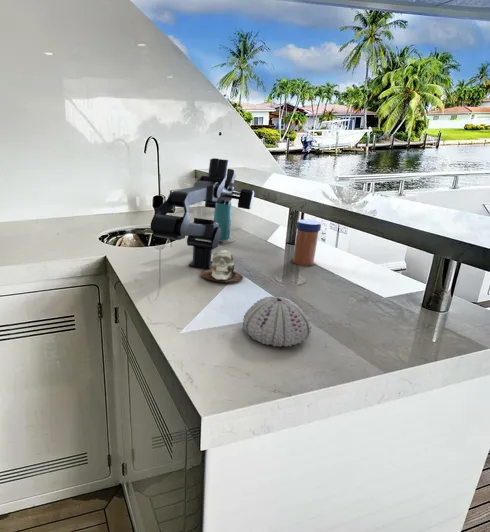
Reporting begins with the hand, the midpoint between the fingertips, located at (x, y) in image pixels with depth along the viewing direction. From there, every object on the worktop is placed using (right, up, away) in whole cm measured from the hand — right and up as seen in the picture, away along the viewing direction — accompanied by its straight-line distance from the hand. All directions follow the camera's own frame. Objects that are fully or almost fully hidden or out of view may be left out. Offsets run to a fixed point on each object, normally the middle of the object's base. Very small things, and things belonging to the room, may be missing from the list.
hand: (232, 197), depth 135 cm
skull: (-8, -28, -25) cm, 38 cm away
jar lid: (+21, -11, -15) cm, 28 cm away
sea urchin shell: (-2, -39, -56) cm, 68 cm away
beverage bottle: (-3, -15, +10) cm, 19 cm away
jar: (+21, -23, -11) cm, 33 cm away
